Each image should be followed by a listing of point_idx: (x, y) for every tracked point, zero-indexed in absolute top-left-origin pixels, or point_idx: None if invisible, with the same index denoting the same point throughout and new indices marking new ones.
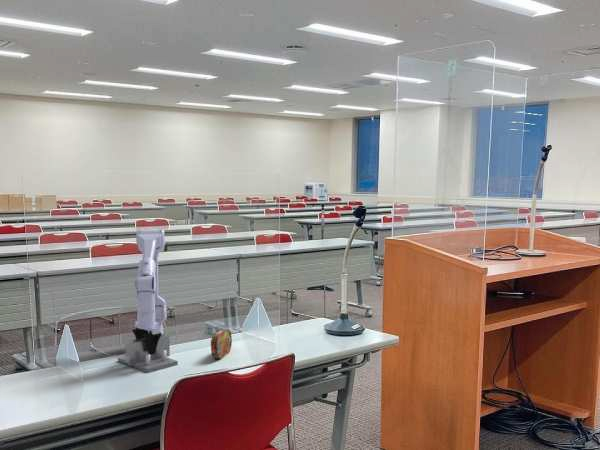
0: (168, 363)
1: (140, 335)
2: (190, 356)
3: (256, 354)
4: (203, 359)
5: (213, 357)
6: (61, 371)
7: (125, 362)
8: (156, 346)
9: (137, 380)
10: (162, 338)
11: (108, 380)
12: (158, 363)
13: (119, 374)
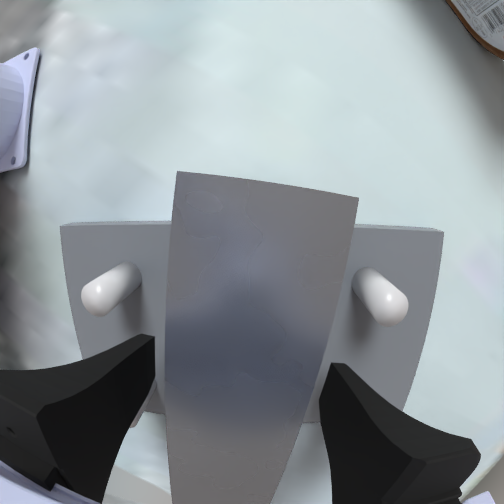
0: (433, 301)
1: (104, 448)
2: (347, 54)
3: None
4: (451, 67)
5: (492, 52)
6: (120, 501)
7: None
8: (374, 394)
9: None
10: (328, 309)
11: (324, 498)
12: (384, 342)
13: (300, 470)
